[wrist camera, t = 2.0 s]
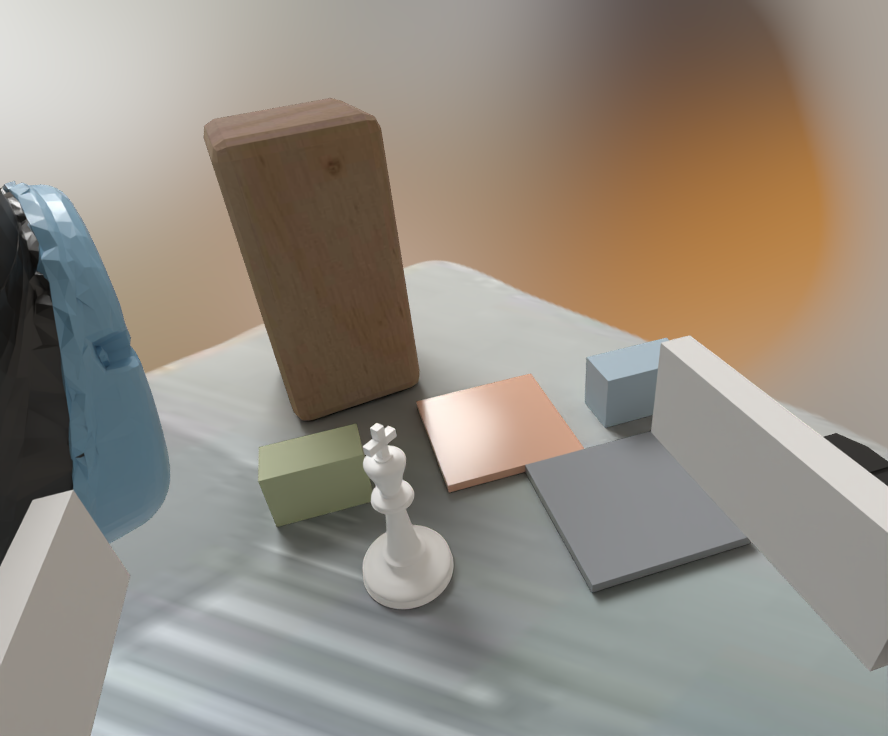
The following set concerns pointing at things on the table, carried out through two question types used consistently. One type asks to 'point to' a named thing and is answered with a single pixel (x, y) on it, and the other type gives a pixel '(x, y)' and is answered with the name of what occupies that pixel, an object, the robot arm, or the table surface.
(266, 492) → the brick olive
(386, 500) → the chess piece
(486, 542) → the table surface
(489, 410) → the pad terracotta
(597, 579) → the pad slate
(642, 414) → the brick blue
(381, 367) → the wooden block
